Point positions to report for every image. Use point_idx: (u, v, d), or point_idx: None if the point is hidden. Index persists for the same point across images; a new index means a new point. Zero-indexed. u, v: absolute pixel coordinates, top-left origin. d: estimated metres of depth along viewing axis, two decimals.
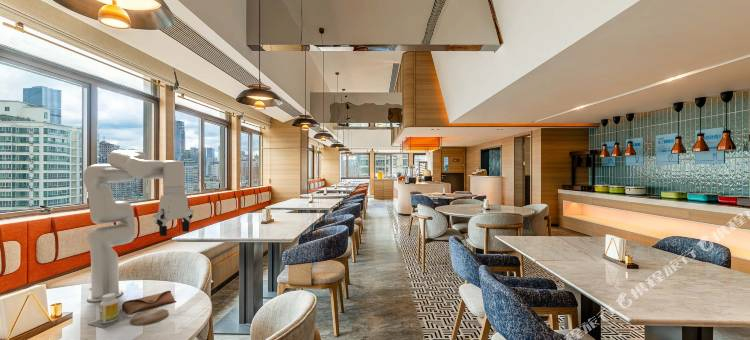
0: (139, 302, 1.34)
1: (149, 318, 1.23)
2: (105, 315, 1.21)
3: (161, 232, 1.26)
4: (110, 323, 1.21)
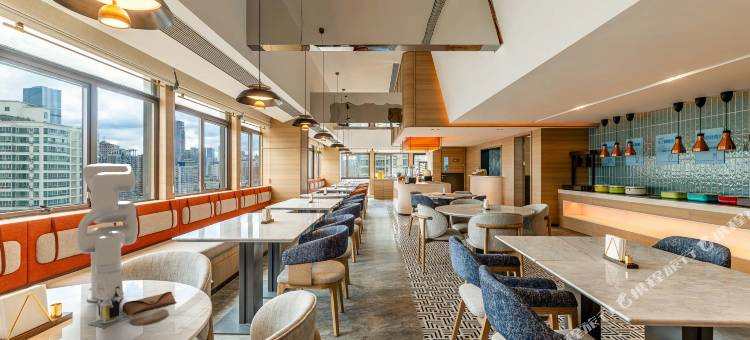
0: (139, 303, 1.33)
1: (149, 318, 1.23)
2: (105, 315, 1.21)
3: (117, 312, 1.22)
4: (110, 323, 1.21)
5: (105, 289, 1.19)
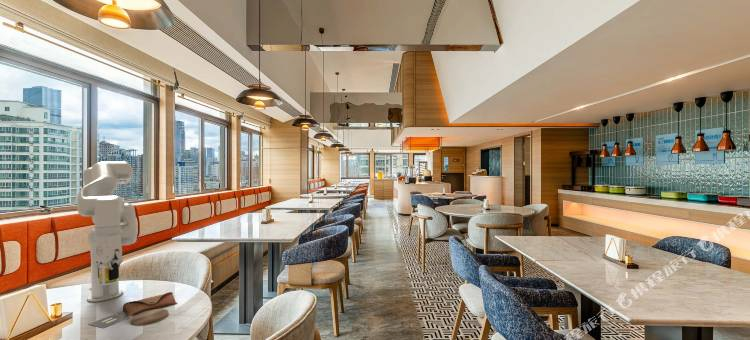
0: (139, 304, 1.32)
1: (149, 318, 1.23)
2: (104, 277, 1.21)
3: (116, 275, 1.22)
4: (110, 323, 1.21)
5: (104, 251, 1.20)
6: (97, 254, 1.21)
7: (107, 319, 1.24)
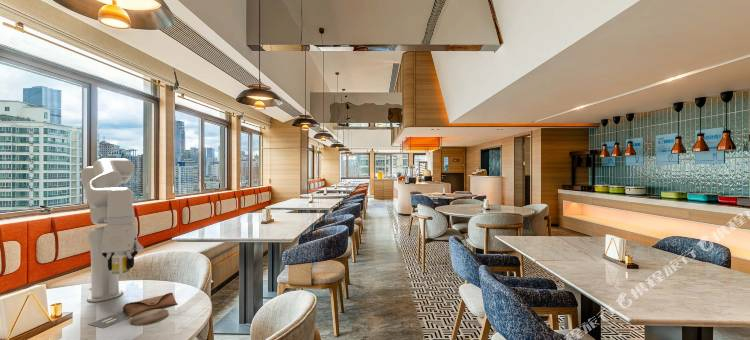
0: (140, 304, 1.32)
1: (149, 318, 1.23)
2: (122, 266, 1.22)
3: (133, 263, 1.25)
4: (110, 323, 1.21)
5: (125, 240, 1.21)
6: (112, 245, 1.21)
7: (107, 319, 1.24)
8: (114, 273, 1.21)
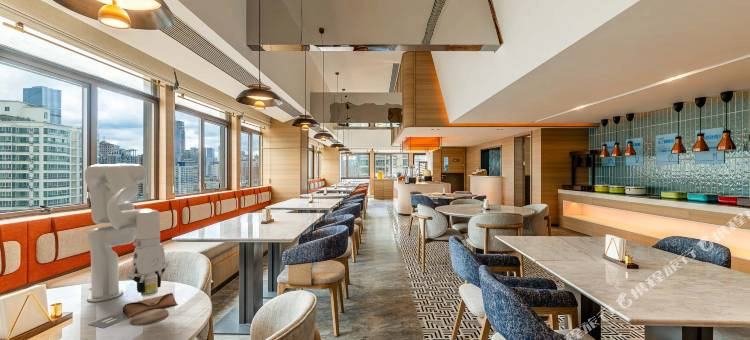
0: (139, 305, 1.31)
1: (149, 318, 1.23)
2: (157, 285, 1.26)
3: None
4: (110, 323, 1.21)
5: (160, 259, 1.27)
6: (150, 266, 1.23)
7: (107, 319, 1.24)
8: (151, 293, 1.24)
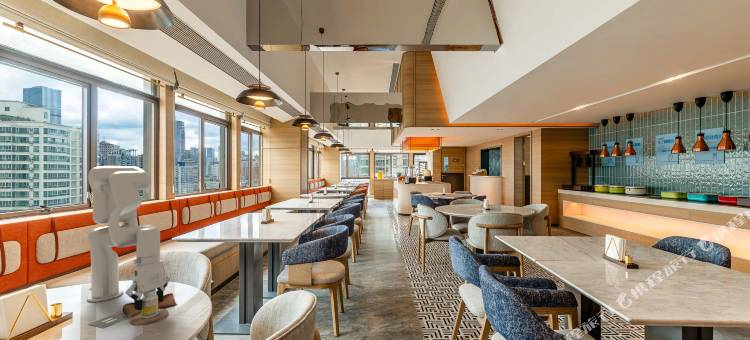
0: None
1: (149, 318, 1.23)
2: (157, 306, 1.26)
3: None
4: (110, 323, 1.21)
5: (161, 275, 1.27)
6: (150, 283, 1.23)
7: (107, 319, 1.24)
8: (152, 314, 1.24)
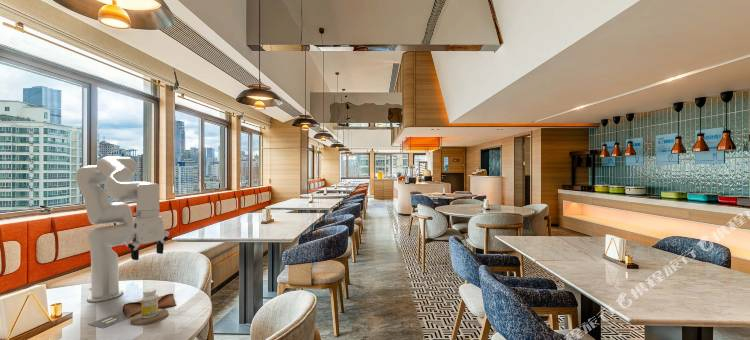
0: (139, 305, 1.31)
1: (149, 318, 1.23)
2: (157, 306, 1.26)
3: None
4: (110, 323, 1.21)
5: (159, 230, 1.32)
6: (149, 236, 1.28)
7: (107, 319, 1.24)
8: (152, 314, 1.24)
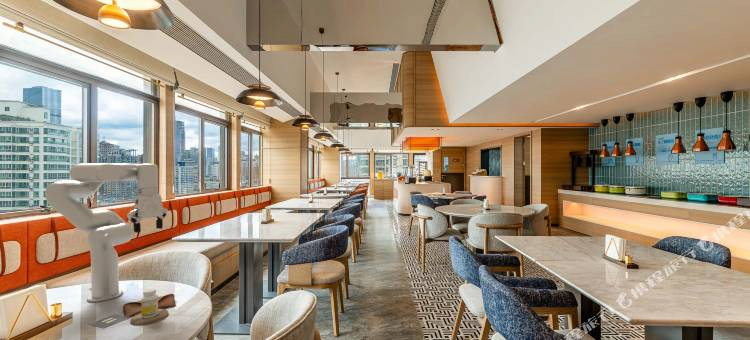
0: (138, 305, 1.31)
1: (149, 318, 1.23)
2: (157, 306, 1.26)
3: None
4: (110, 323, 1.21)
5: (158, 206, 1.46)
6: (149, 211, 1.42)
7: (107, 319, 1.24)
8: (152, 314, 1.24)
